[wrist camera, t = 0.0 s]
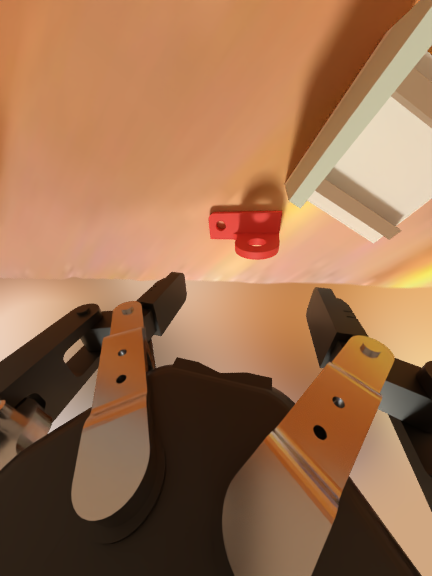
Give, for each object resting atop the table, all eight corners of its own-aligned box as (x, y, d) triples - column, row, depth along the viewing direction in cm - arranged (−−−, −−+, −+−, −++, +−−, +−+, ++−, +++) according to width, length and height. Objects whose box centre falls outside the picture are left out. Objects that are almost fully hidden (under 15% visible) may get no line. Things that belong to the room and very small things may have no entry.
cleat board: (386, 31, 16) (472, -50, 9) (504, 130, 18) (651, 125, 11) (284, 184, 26) (288, 201, 19) (369, 239, 27) (402, 273, 20)
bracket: (281, 210, 28) (284, 229, 22) (277, 237, 31) (279, 260, 25) (209, 211, 31) (194, 228, 25) (212, 236, 34) (199, 256, 28)
